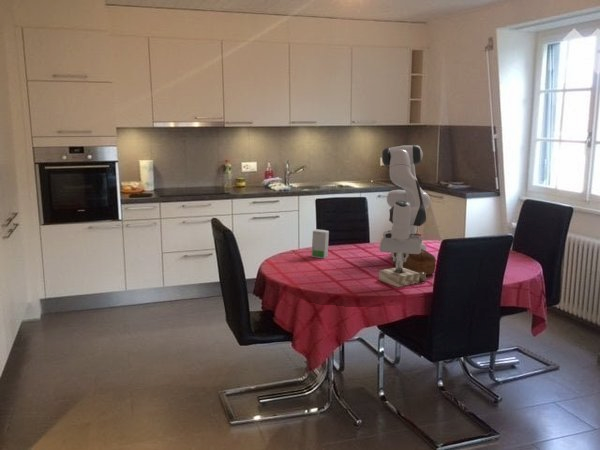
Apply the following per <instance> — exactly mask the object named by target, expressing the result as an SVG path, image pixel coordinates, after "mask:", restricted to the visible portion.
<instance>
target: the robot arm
mask: <svg viewBox="0 0 600 450" xmlns="http://www.w3.org/2000/svg"><path fill="white" fill-rule="evenodd" d="M423 156H424V153H423V150H422V148H421V146H420V145H417V144H416V145H415V144H412V145H399V146H393V147H385V148H384V149H383V150H382V152H381V161H382V165H384V166H385V167H389V171H388V172H389V178H390V181H391V182H392V183H393V184H394V185H395V186H397V187H399V188H401V189H393V190H390V191H389V192H388V194H387V196H386V203H387V204H388V206H389V207H390V208H389V217H388V221H389V222H390V223H391V224H392V226H391V229H390V230H386V231H384V232H382V238H381V239H380V244H379V251H380V252H381V253H390V256H391V257H393V261H396V257H394V253H398V252H399V250H401V253H406V257H405V258H403V262H406V259H407V257H408V256H409V254H420V253H421V249H423V250H425V251H427V246H426V244H425V243H423V238H422V233H421V232H417V227H421V226H422V225H424V224H425V223H426V221H427V217H428V215H427V211H426V210H427V209H428V208H429V207H430V204H431V197H430V195H429V194H428V193H427V192H426V191H425V190H423V189H422V187H421V186H420V183H419V181H418V178H417V176H416V175H417V174H416V166H415V165H418V164H420V163H421V162H422V161H423Z"/></svg>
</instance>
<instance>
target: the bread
mask: <svg viewBox="0 0 600 450" xmlns="http://www.w3.org/2000/svg"><path fill="white" fill-rule="evenodd" d="M391 257H392V256H391ZM394 257H396V253H394ZM405 257H406V253H404V257H403V258H405ZM436 261H437V259H436V257H435V255H433V254H432V253H430V252H428V251H427V250H426V251H425V250H423V249H421V253H420V254H409V256H408V257H407V259H406V262H403V268H405V269H408V270H411V271H414V272H417V273H419V272H425V273H426V276H431V275H433V274H434V273H435V270H436V263H437V262H436ZM391 263H392V265H393V266H395V267H396V261H393V257H392V258H391Z"/></svg>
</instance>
